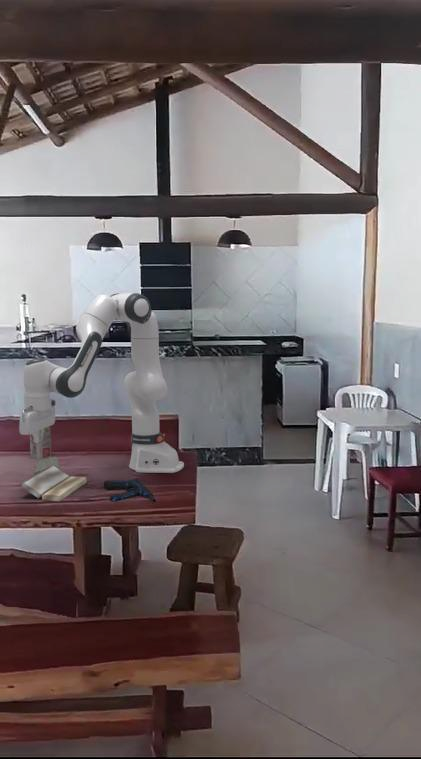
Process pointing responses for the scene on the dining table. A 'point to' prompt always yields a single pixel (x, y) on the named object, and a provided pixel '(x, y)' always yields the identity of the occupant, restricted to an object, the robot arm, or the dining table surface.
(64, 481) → the thin beige board
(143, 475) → the dining table surface
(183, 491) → the dining table surface
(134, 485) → the gun
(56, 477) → the board
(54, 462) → the stone slab
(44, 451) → the carton
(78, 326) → the robot arm
